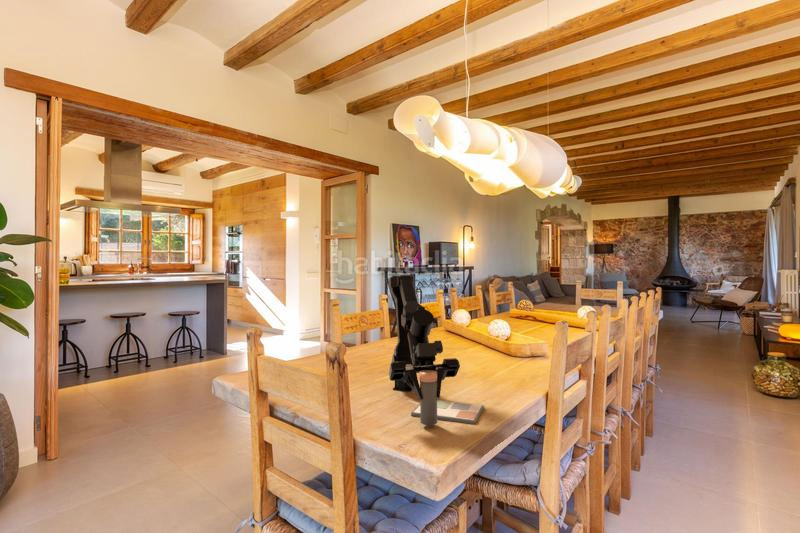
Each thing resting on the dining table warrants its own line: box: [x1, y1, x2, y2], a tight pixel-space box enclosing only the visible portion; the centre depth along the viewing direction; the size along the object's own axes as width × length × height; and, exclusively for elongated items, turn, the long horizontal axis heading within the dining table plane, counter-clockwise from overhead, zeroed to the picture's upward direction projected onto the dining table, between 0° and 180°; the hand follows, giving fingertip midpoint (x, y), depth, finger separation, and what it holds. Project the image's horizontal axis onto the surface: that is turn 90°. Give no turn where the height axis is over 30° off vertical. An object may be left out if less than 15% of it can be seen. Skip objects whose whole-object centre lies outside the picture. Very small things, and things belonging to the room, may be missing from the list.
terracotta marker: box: [419, 370, 438, 426], centre depth 108 cm, size 5×5×13 cm
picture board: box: [410, 399, 485, 425], centre depth 118 cm, size 18×13×1 cm
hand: (429, 398), depth 107 cm, fingers closed on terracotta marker, 4 cm apart
